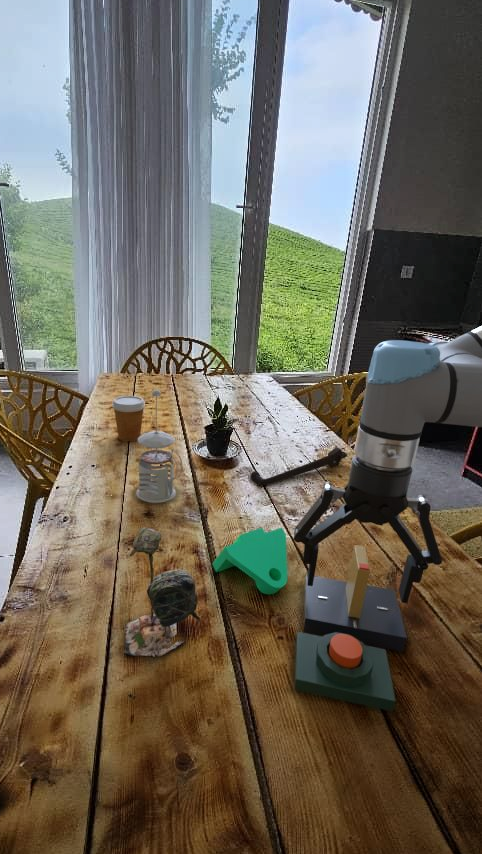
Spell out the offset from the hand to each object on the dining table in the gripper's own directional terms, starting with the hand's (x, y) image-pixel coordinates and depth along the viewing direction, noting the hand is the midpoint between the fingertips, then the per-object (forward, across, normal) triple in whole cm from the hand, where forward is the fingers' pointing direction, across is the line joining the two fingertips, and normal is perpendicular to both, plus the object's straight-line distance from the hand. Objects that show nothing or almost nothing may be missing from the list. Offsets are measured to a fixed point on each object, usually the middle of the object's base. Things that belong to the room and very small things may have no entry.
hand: (355, 588), depth 67 cm
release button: (+2, -2, -11) cm, 11 cm away
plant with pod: (+6, -27, -11) cm, 30 cm away
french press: (+6, -40, +28) cm, 49 cm away
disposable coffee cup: (+6, -59, +58) cm, 83 cm away
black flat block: (+6, 0, 0) cm, 6 cm away
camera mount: (+1, -18, +9) cm, 20 cm away
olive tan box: (+3, 0, 0) cm, 3 cm away
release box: (+6, -2, -11) cm, 13 cm away
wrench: (+6, -9, +51) cm, 52 cm away
